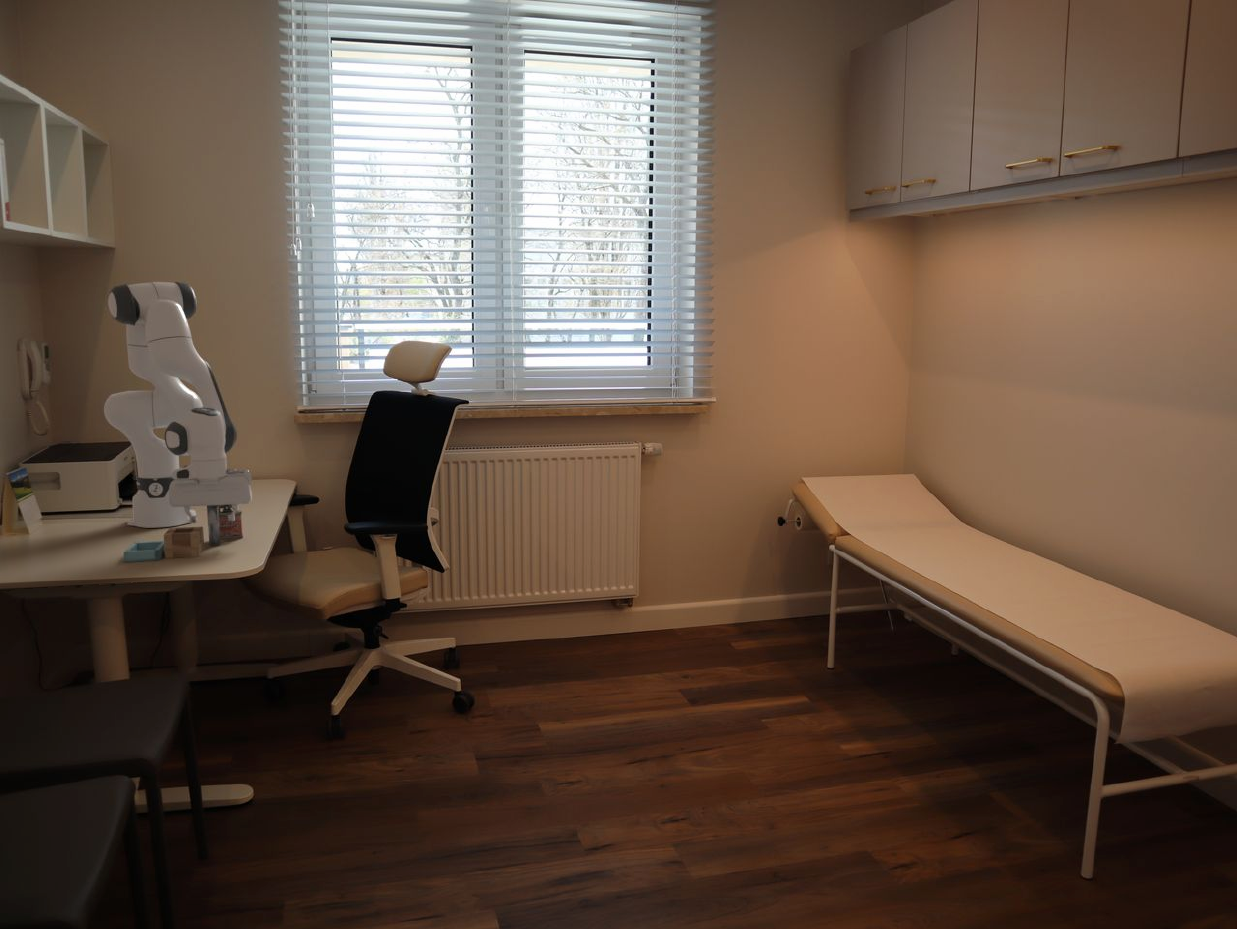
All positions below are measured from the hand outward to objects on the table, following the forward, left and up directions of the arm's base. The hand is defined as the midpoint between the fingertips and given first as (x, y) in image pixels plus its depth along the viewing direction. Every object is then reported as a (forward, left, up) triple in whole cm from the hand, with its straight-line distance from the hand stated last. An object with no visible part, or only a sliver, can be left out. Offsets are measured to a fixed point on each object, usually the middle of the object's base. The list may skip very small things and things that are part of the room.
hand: (212, 521), depth 261 cm
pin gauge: (-1, 0, -6) cm, 6 cm away
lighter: (-8, +2, -7) cm, 10 cm away
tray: (+8, -15, -6) cm, 18 cm away
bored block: (+7, -6, -6) cm, 11 cm away
